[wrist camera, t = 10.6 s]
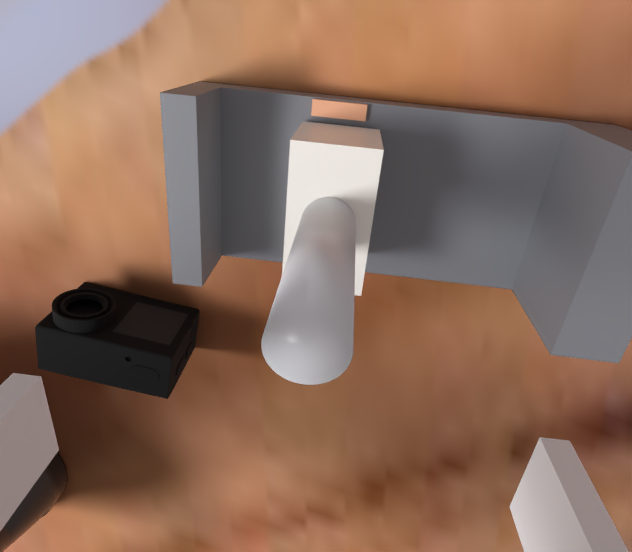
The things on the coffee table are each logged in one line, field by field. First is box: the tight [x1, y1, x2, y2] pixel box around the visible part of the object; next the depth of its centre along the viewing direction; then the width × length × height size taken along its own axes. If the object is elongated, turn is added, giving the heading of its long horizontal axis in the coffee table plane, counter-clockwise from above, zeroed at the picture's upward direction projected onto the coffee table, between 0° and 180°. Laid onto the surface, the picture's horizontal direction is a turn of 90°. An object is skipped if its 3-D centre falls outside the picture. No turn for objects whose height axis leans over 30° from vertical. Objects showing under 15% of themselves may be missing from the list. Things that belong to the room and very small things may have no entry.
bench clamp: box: [160, 81, 632, 363], centre depth 29 cm, size 28×12×10 cm, turn 85°
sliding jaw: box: [261, 121, 384, 385], centre depth 24 cm, size 5×9×18 cm, turn 175°
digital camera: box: [35, 282, 199, 399], centre depth 38 cm, size 10×5×7 cm, turn 77°
